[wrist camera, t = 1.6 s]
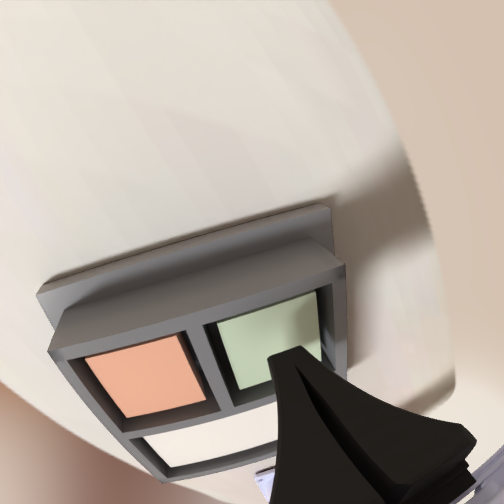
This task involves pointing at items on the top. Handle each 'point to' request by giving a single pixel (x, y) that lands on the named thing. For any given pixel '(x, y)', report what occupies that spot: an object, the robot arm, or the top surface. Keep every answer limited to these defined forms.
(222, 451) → the space bar
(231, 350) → the green key
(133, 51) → the top surface
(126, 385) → the terracotta key
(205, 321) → the grey compartment tray
